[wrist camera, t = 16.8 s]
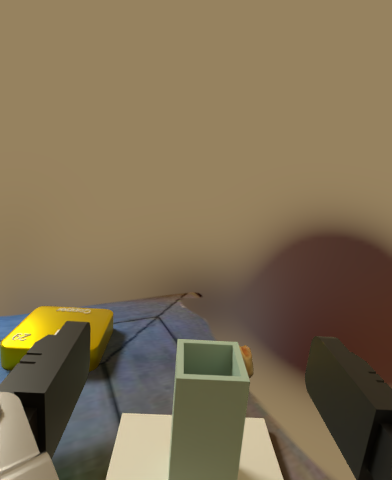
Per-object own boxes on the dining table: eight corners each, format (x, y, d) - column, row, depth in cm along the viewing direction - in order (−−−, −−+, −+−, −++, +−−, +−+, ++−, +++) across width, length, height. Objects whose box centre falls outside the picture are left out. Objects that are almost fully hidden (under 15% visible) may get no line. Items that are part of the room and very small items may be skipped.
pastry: (197, 380, 49) (199, 358, 49) (194, 355, 56) (196, 336, 55) (255, 381, 50) (258, 360, 49) (246, 357, 57) (248, 338, 56)
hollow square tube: (232, 517, 28) (250, 381, 25) (166, 515, 28) (176, 378, 25) (222, 445, 36) (235, 334, 33) (169, 443, 35) (177, 330, 32)
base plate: (322, 624, 23) (344, 528, 21) (73, 624, 22) (72, 523, 20) (262, 428, 41) (271, 365, 39) (122, 423, 40) (124, 359, 38)
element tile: (115, 328, 63) (115, 306, 62) (94, 375, 49) (95, 348, 48) (39, 324, 63) (38, 302, 62) (-5, 371, 48) (-7, 343, 47)
